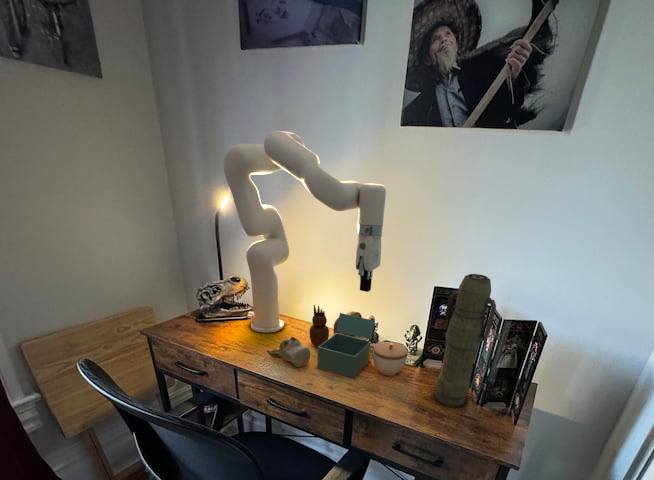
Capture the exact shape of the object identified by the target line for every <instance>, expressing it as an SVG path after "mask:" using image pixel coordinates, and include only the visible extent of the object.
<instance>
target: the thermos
mask: <svg viewBox="0 0 654 480" xmlns="http://www.w3.org/2000/svg"><path fill="white" fill-rule="evenodd" d="M491 294H492V282H491V279H490V278H489V277H488V276H487V275H483V274H479V273H469V274H467V275H465V276H464V277H463V279H462V281H461V282H460V284H459V286H458V290H456V291H453V292H451V294H450V295H449V296H448V298H447V305H446V311H445V317H444V322H443V328H444V329H445V331H446V336H445V342H446V345H445V350H444V355H443V359H442V360H443V361H442V364H441V369H440V373H439V375H438V376H437V378H436V384H435V392H434V398H435V400H436V401H437V402H438V403H440V404H442V405H444V406H448V407H461V406H463V405H464V404H465V402H466V399H467V396H468V393H469V390H470V386H471V374H472V369H473V366H474V362H475V358H476V355H477V351H478V349H479V347H480V346H481V343H482V342H486V341H487V340H488V337H489V335H490V331H491V327H492V323H493V319H494V317H495V312H496V309H497V304H496V301H495V299H493V298H492V297H491ZM455 298H456V300H455ZM454 303H455V304H454ZM454 305H455V306H454ZM489 305H490V311H489V314H488V320H487V323H486V326H485V317H486V314H485V313H486V311H488V306H489ZM454 307H455V309H453V308H454ZM452 312H453V314H452Z"/></svg>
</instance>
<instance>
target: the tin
mask: <svg viewBox="0 0 654 480" xmlns="http://www.w3.org/2000/svg"><path fill="white" fill-rule="evenodd" d="M346 314H347V315H352V316H356V317H361V318H363V317H362V313H360V312H359V311H349V312H347V313H346ZM338 320H339V317H337V318H336V319H335V321H334V323H333V335H334V334H336V333H338V334H342V335H346V336H350V337H353V335H350V334H346V333H341V332H337V325H338Z"/></svg>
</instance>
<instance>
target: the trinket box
mask: <svg viewBox="0 0 654 480" xmlns="http://www.w3.org/2000/svg"><path fill="white" fill-rule="evenodd" d="M372 351H373V353H372V361H373V364H374V366H375V368H376V369H377V371H378V372H379V374H381V375H384V376H394V375H397V374H398V373H399V372H400V371H402V370H403V369H404V367H405V365H406V362H407V359H408V355H409V350H408V348H407V347H406V346H405V345H404V344H401V343H399V342H394V341H381V342H378V343H376V344H375V345H373V349H372Z"/></svg>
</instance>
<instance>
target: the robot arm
mask: <svg viewBox="0 0 654 480" xmlns="http://www.w3.org/2000/svg"><path fill="white" fill-rule="evenodd" d="M281 170H284V171H285V172H287V173H288V174H289V175H291V176H292V177H294V178H295V179H296V180H298V181H299V182H301V183H302V185H303V186H304V187H305V189H306V190H307V191H308V193H309V194H310V195H311V196H312V197H313V198H315V199H316V200H317V201H319V202H321V203H322V204H324V205H325V206H327V207H328V208H329V209H331V210H333V211H336V212H345V211H348V210H355V209H358V213H357V214H358V215H357V229H356V233H357V234H356V236H358V237H357V243H356V244H357V245H356V252H355V269H356V270H358V272H357V275H358V276H359V280H360V281H359V291H361V292H366V293H369V292H370V291H371V290H372V280H373V279H372V278H373V275H374V270H375V269H377V268H379V267H380V266H381V258H382V237H383V231H384V230H383V229H384V218H385V207H386V196H387V188H386V186H385V185H383V184H380V183H364V182H359V181H356V180H341V181H340V180H338V179H337V178H335V177H334V176H333V175H331V174H329V173H328V172H327V171H325V170H324V169H323V168H322V167H321V165H320V157H319V156H318V154H316V153H315V152H314V151H312V150H310V149H309V148H307V147H306V146H305V143H304V140H303V139H302V138H301V137H300V136H299V135H298V134H296V133H295V132H290V131H284V130H274V131H271V132H269V133H268V134H267V135H266V137H265V138H264V141H263V143H252V142H239V143H236V144H234V145H232V146H231V147H230V148H229V149H227V151H226V153H225V155H224V159H223V172H224V177H225V180H226V183H227V185H228V187H229V190H230V193H231V195H232V199H233V202H234V205H235V206H234V207H235V210H236V212H237V215H238V219H239V222H240V226H241V228H242V232H243V233H244V234H245V235H246V236H248V237H250V238H258V237H262V238H263V239H261V240H256V241H255V242H252V243H251V244H250V245H249V246H248V248H247V250H246V255H245V256H246V262H247V265H248V269H249V274H250V283H251V294H252V295H251V296H252V308H253V311H250V310H249V311H248V312H247V315H246V318H247V319H249V320H251V323H250V328H251V329H252V330H253V331H255V332H257V333H264V334H267V333H275V332H279V331H281V330H282V329H283V328H284V326H285V323H284V321H283V320H281V318H280V298H279V297H280V295H279V294H280V293H279V280H278V275H277V274H276V273H277V272H276V271H275V267H277V266H279V265H281V264H283V263H286V261H287V260H288V258H289V256H290V247H289V241H288V238H287V235H286V230H285V227H284V222H283V218H282V216H281V215H280V213H279V211H278V209H276V208H275V207H274V206H272V205H270V204H263V203H262V200H261V198H260V193H259V190H258V188H257V186H256V184H255V182H254V181H253V180H252V178H251V176H252V175H269V174H272V173H276V172H278V171H281Z"/></svg>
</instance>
